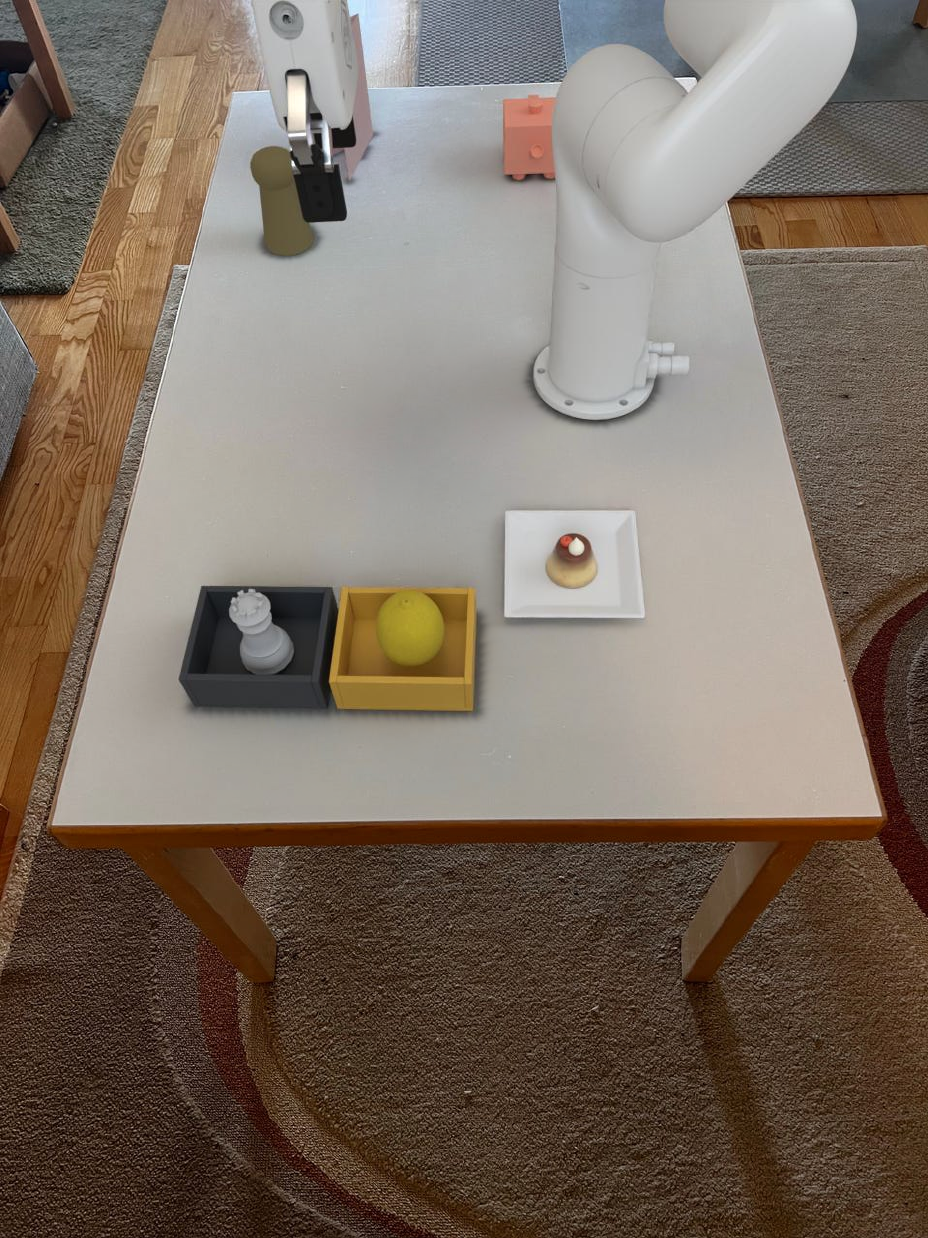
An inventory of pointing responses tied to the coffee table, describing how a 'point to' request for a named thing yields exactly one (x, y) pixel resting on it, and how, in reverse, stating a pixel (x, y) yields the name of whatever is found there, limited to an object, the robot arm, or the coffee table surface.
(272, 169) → the pawn chess piece
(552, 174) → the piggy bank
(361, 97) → the greeting card
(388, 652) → the lemon
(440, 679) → the ochre bin
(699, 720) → the coffee table surface
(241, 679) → the charcoal bin
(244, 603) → the rook chess piece
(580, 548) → the dessert
